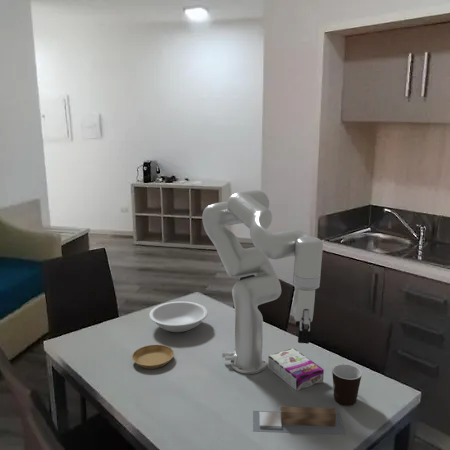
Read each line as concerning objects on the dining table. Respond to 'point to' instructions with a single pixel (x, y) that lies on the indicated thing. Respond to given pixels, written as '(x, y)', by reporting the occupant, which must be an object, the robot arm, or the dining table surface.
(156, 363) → the plant saucer
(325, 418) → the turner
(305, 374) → the candy bar box
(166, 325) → the soup bowl
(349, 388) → the coffee mug
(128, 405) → the dining table surface
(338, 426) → the mat
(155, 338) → the dining table surface
